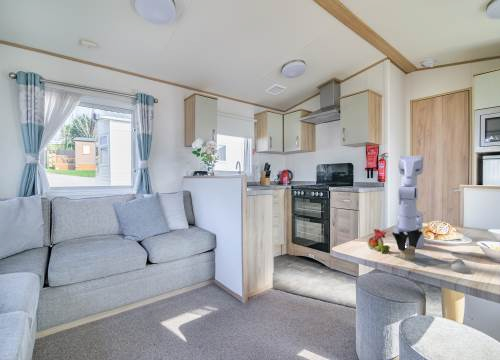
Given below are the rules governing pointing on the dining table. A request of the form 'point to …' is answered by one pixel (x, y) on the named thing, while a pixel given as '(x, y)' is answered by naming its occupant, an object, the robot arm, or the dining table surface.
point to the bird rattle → (374, 242)
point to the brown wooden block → (408, 253)
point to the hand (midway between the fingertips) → (407, 249)
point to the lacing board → (424, 260)
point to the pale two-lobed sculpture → (459, 266)
